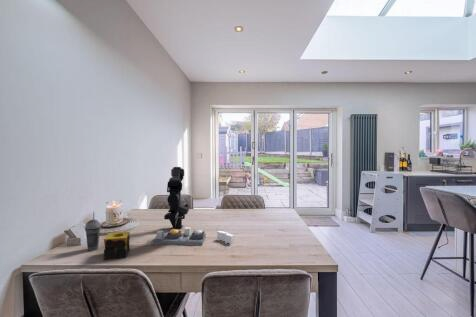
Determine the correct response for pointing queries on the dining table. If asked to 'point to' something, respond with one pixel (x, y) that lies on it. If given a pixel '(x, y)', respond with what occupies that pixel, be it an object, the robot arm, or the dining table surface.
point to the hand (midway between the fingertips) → (174, 227)
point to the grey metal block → (160, 234)
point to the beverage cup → (92, 234)
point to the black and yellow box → (116, 245)
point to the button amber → (174, 231)
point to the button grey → (197, 232)
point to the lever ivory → (187, 231)
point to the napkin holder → (225, 237)
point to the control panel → (181, 239)
